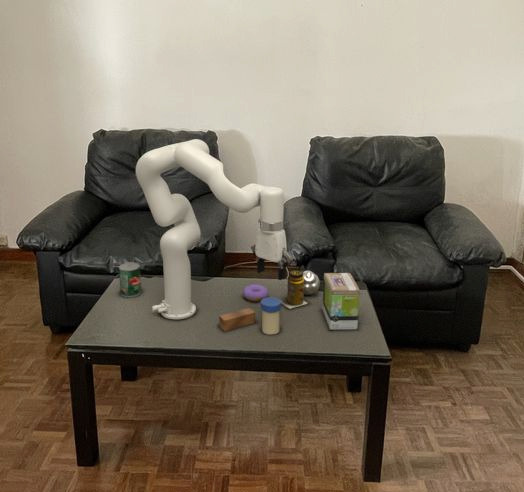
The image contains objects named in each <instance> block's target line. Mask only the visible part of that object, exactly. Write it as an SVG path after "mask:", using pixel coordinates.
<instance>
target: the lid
mask: <svg viewBox="0 0 524 492" xmlns="http://www.w3.org/2000/svg"><path fill="white" fill-rule="evenodd" d="M281 300H282V299H279V298H278V297H274V296H267V298H264V299H262V300H261V301H260V309H261V311H262V310H263V311H265V312H270V313H272V312H277V311H279V310H280V311H281V310H282V303H281Z"/></svg>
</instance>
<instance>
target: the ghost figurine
mask: <svg viewBox="0 0 524 492" xmlns="http://www.w3.org/2000/svg"><path fill="white" fill-rule="evenodd" d="M302 272H303V279H304V295H306V296H313V295H314V294H316V293H317V292H318V291H319V289H320V287H321V281H320V278H319V276H318V275H317V274H315V272H313V271H311V270H304V271H302Z"/></svg>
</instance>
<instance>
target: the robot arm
mask: <svg viewBox="0 0 524 492" xmlns="http://www.w3.org/2000/svg"><path fill="white" fill-rule="evenodd" d="M180 167H181V168H182V169H184V170H185V171H187V172H189V173H190V174H192V175H193V176H195V177H196V178H198V179H199V180H200V181H202V182H204V183H205V184H206V185H208V187H209V189H210V192H211V193H212V194H213V195H214V197H215V198H217V200H218V201H219V202H221V203H222V204H224V205H225V206H227V208H229V209H231V210H233V211H235V212H236V213H241V214H245V213H249V212H250V211H252V210H253V209H254V208H257V207H259V208H260V209H259V213H260V214H259V215H260V217H259V218H258V220H257V222H258V224H259V227H258V228H257V231H256V237H255V238H256V239H255V244H253V245H251V246H250V249H251V251H252V255H253V256H254V258H255V262H256V263H257V264H256V273H257V274H260V273H262V272H264V271H265V270H266V269H265V267H266V263H265V262H266V261H270V262H272V263H277V265H278V267H279V268H278V269H277V271H278V272H277V279H278V281H282V280H284V279H285V278H286V277H287V267H288V266H289V265H291V264H292V262H293V260H294V257H293V255H291V253H290V252H289V251H288V247H287V237H286V236H287V235H286V231H285V229H284V210H285V206H284V205H285V194H284V193H285V192H284V190H283V189H282V188H280V187H278V186H266V185H263V184H259V183H255V182H254V183H253V182H252V183H249V184H246V185H245V186H243V187H239V186H237V185H235V184H234V183H232V182H231V181H230V180H229V179H228V178H227V177H226V175H225V173H224V164H223V163H222V161H221V160H218V159H217V158H215V157H214V156H212V155H210V148H209V146H208V144H207V142H205V141H204V140H201V139H198V138H194V139H189V140H187V141H181V142H176V143H173V144H168V145H164V146H161V147H158V148H154V149H152V150H149V151H147V152H146V153H143V155H141V157H140V158H139V159H138V160H137V163H136V165H135V177H136V179H137V182H138V184H139V186H140V188H141V189H142V191H143V194H144V197H145V199H146V202H147V205H148V208H149V210H150V212H151V215H152V219H154V221H155V224H156V225H158V226H160V227H162V228H166V227H169V226H171V225H173V227H171V228H169V229H168V230H167V231H165V232H164V233H163V235H162V236H161V237H160V240H159V248H160V253H161V257H162V268H163V285H164V286H163V289H164V290H163V291H164V299H162V300H161V303H159V304H155V305H151V311H152V312H156V311H157V313H158V314H161V316H162V317H164V318H165V319H168V320H185V319H188V318H190V317H192V316H194V315H195V314H196V312H197V307H196V304H195V303H193V302H192V271H191V260H190V257H189V255H188V251H189V250H190V249H191V248H193V247H194V246H196V245H197V244H198V243H199V241H200V240H201V238H202V237H201V235H202V233H201V232H202V231H201V228H200V225H199V222H198V220H197V217H196V215H195V212H194V209H193V206H192V204H191V202H190V201H189V200H188V198H187V197H186V196H185V195H183V194H181V193H171V191H170V187H169V185H168V184H167V182H166V181H165V179H163V177H162V176H161V174H163V173H165V172H168V171H172V170H174V169H177V168H180ZM265 260H266V261H265Z"/></svg>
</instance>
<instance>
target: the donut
mask: <svg viewBox="0 0 524 492" xmlns="http://www.w3.org/2000/svg"><path fill="white" fill-rule="evenodd" d="M242 294H243V297H244V299H246V300H248V301H249V302H261V300H262V299H264V298H267V297H269V291H268V288H267V287H265V286H263V285H260V284H249V285H247V286H246V287H245V288H244V289H243V290H242Z"/></svg>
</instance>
